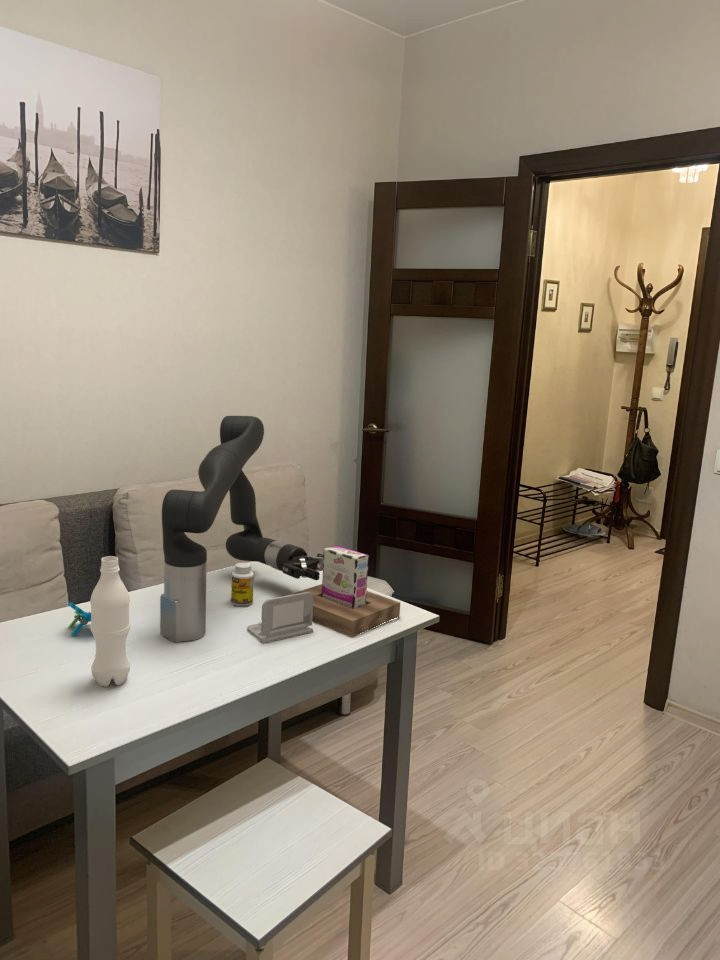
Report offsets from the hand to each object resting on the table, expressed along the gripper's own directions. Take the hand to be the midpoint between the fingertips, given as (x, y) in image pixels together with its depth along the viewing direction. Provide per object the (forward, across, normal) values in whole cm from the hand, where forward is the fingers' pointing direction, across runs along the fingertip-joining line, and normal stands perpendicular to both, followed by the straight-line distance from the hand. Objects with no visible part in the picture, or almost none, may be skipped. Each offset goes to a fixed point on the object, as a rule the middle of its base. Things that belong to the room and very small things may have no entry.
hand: (330, 572), depth 186 cm
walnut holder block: (+5, 0, +10) cm, 11 cm away
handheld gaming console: (+2, -19, +10) cm, 22 cm away
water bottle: (-2, -60, +10) cm, 61 cm away
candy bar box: (+5, 0, +10) cm, 11 cm away
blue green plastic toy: (-26, -51, +10) cm, 59 cm away
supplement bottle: (-17, -14, +10) cm, 24 cm away
